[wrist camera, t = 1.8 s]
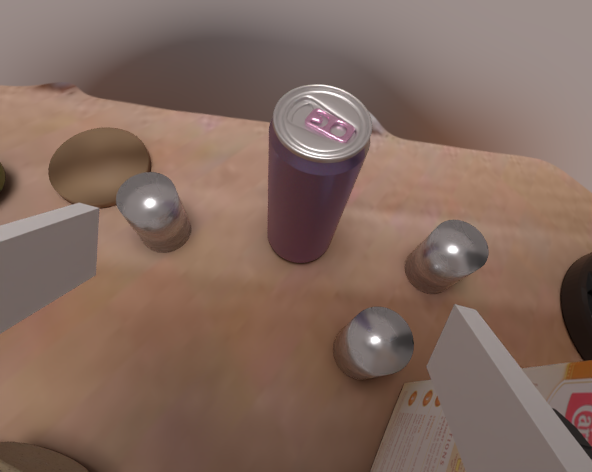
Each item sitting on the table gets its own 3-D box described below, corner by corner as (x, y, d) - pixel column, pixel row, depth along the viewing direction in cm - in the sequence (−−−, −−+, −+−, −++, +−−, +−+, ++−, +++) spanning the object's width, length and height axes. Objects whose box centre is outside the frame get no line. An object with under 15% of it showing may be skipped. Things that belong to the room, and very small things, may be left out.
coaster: (163, 187, 33) (160, 181, 32) (66, 222, 31) (60, 217, 30) (135, 124, 36) (132, 117, 36) (45, 151, 34) (39, 144, 33)
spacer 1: (198, 240, 31) (184, 207, 26) (150, 260, 30) (125, 229, 25) (181, 203, 33) (164, 164, 27) (135, 220, 32) (108, 184, 26)
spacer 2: (460, 280, 32) (500, 256, 26) (423, 302, 30) (457, 281, 25) (431, 242, 33) (463, 211, 28) (395, 261, 32) (421, 232, 27)
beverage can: (309, 277, 31) (344, 181, 17) (254, 243, 32) (247, 127, 18) (340, 228, 33) (393, 110, 20) (289, 198, 34) (305, 67, 21)
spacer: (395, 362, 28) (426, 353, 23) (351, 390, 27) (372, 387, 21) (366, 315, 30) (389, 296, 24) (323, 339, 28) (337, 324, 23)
